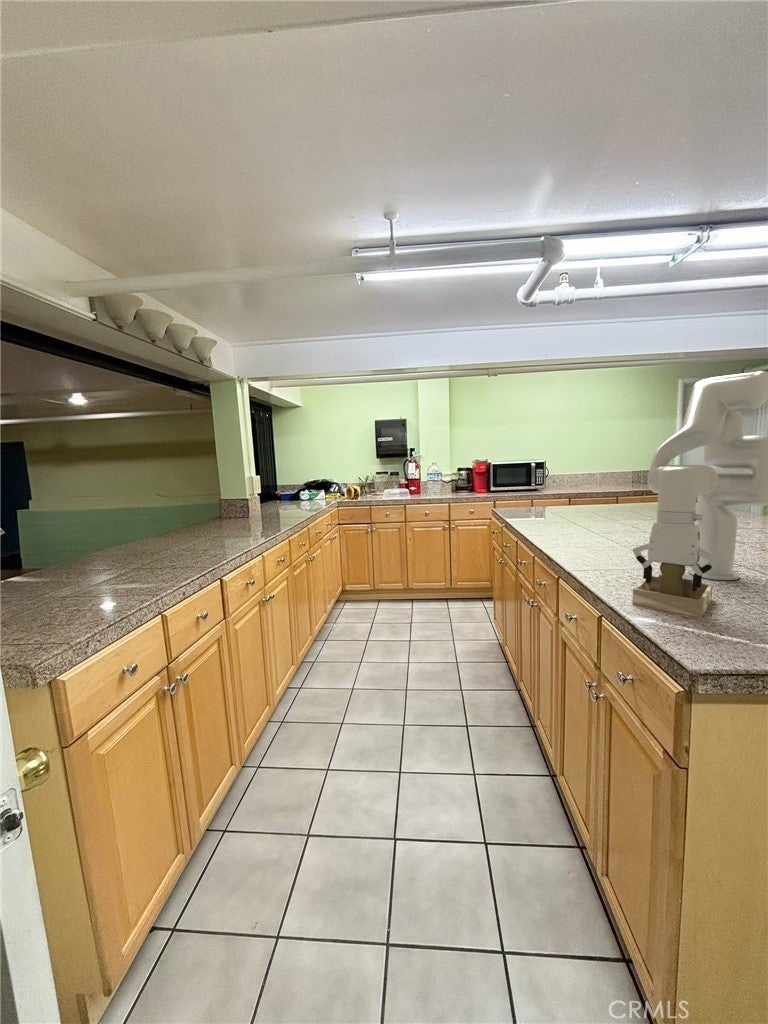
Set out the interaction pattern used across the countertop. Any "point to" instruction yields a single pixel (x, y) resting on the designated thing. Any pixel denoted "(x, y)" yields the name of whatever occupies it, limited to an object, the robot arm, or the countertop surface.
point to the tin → (684, 585)
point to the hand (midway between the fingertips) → (670, 585)
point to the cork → (672, 579)
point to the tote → (672, 599)
